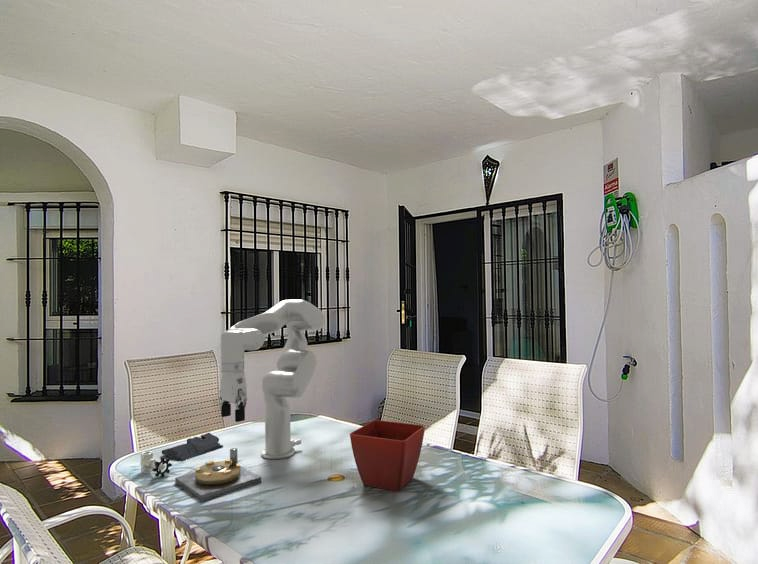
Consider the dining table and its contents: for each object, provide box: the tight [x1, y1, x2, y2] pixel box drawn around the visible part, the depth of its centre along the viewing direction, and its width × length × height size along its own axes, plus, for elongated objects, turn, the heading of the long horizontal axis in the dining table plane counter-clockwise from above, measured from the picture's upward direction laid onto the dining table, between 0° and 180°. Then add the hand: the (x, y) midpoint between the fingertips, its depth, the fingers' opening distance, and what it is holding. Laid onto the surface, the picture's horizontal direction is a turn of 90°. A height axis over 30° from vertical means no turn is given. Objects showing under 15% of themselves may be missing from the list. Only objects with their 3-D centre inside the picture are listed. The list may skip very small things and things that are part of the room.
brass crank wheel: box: [194, 447, 241, 485], centre depth 158 cm, size 14×14×8 cm
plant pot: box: [349, 419, 426, 492], centre depth 156 cm, size 19×19×17 cm
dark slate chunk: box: [161, 432, 224, 462], centre depth 191 cm, size 15×22×5 cm
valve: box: [139, 450, 173, 478], centre depth 167 cm, size 7×7×12 cm
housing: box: [174, 465, 262, 502], centre depth 158 cm, size 20×20×3 cm
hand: (232, 418), depth 162 cm, fingers open, 9 cm apart
